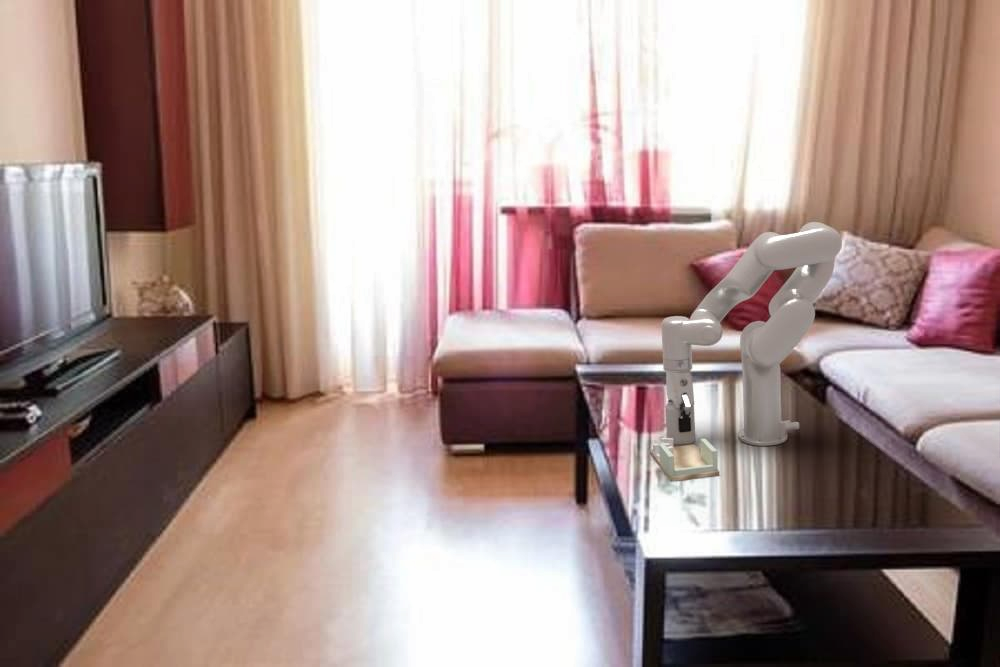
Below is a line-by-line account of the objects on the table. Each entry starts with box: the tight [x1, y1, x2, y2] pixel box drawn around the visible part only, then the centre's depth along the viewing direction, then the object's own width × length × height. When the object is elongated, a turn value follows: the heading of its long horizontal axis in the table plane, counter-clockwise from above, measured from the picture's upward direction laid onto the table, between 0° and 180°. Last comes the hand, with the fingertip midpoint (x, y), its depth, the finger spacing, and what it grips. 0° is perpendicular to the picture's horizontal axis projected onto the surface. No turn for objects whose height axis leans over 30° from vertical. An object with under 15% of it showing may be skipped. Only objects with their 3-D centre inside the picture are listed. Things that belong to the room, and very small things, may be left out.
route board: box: [649, 443, 720, 482], centre depth 224 cm, size 12×20×1 cm, turn 5°
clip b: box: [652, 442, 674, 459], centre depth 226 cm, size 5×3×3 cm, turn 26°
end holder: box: [659, 438, 719, 476], centre depth 218 cm, size 12×10×5 cm
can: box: [664, 399, 696, 447], centre depth 237 cm, size 8×8×12 cm
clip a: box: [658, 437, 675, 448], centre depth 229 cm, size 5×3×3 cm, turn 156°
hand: (680, 426), depth 237 cm, fingers closed on can, 7 cm apart
